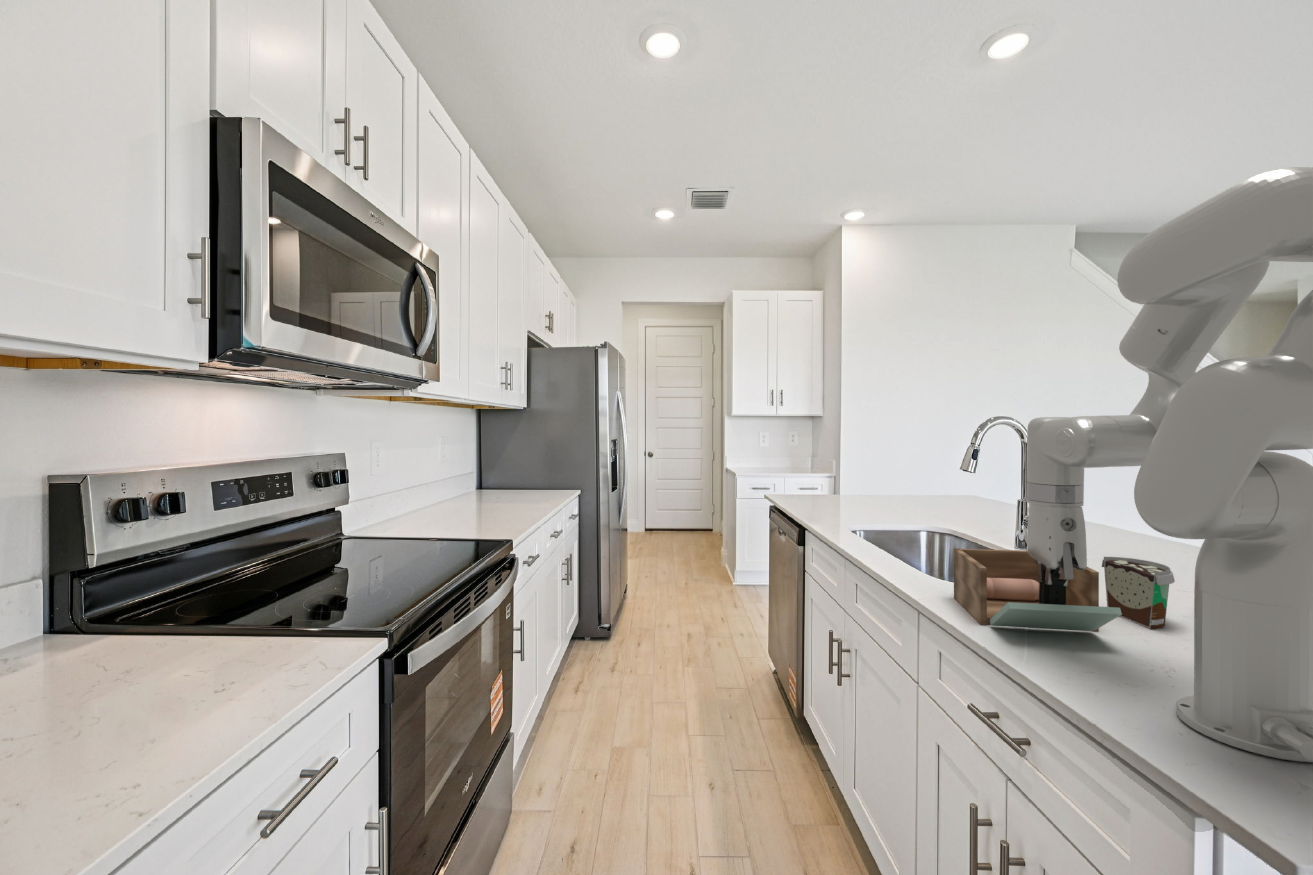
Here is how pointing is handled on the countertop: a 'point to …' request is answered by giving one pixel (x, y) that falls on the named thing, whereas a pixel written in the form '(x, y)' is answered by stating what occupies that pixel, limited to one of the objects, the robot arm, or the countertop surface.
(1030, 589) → the pink cylinder
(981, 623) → the crate
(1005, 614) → the flat green panel
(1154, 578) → the food container
